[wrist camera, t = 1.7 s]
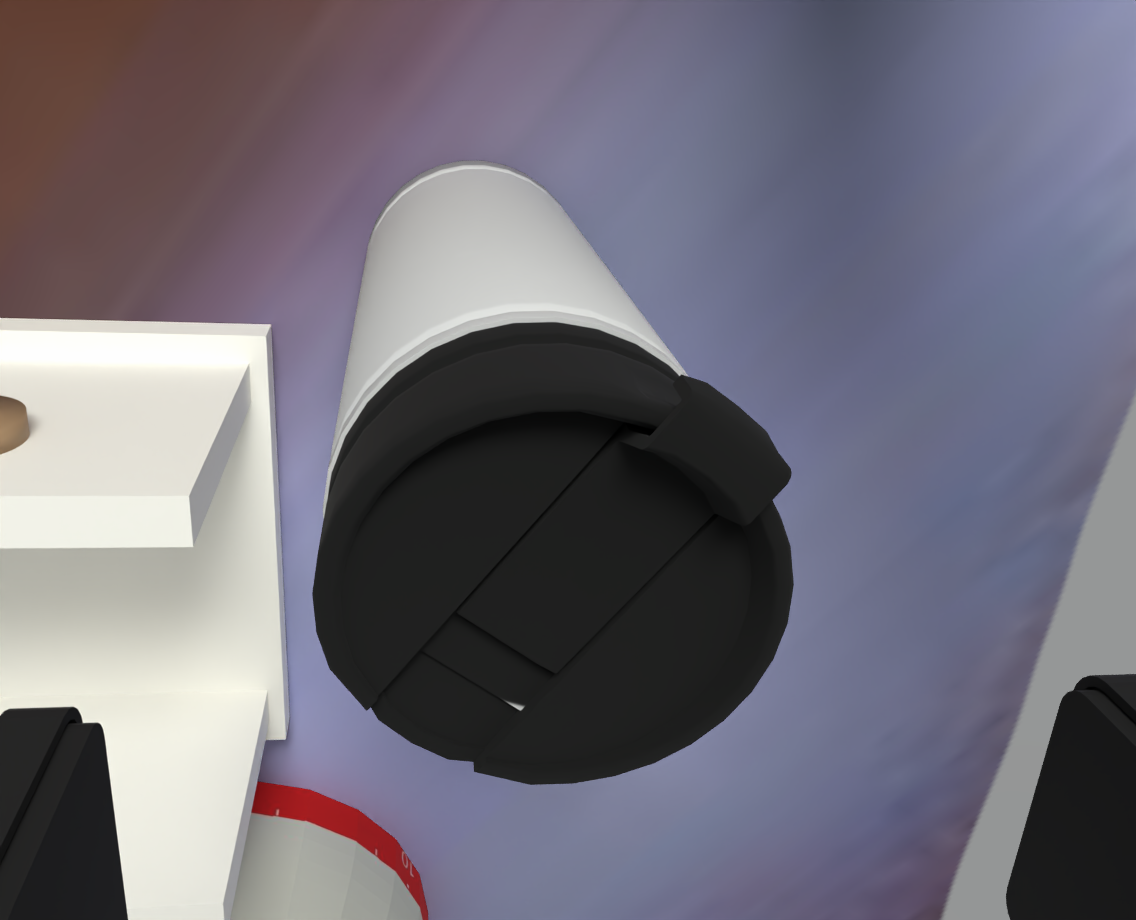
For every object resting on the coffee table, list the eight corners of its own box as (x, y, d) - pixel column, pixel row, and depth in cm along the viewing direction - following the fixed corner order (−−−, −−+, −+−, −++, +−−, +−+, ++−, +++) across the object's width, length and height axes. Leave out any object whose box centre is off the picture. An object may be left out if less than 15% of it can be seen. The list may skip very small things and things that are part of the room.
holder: (-176, 314, 29) (-450, 457, 20) (271, 324, 31) (211, 460, 22) (-87, 729, 35) (-269, 994, 25) (289, 717, 36) (248, 960, 27)
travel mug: (628, 242, 31) (927, 566, 13) (490, 407, 33) (589, 903, 15) (462, 101, 29) (548, 259, 11) (322, 285, 31) (194, 690, 13)
